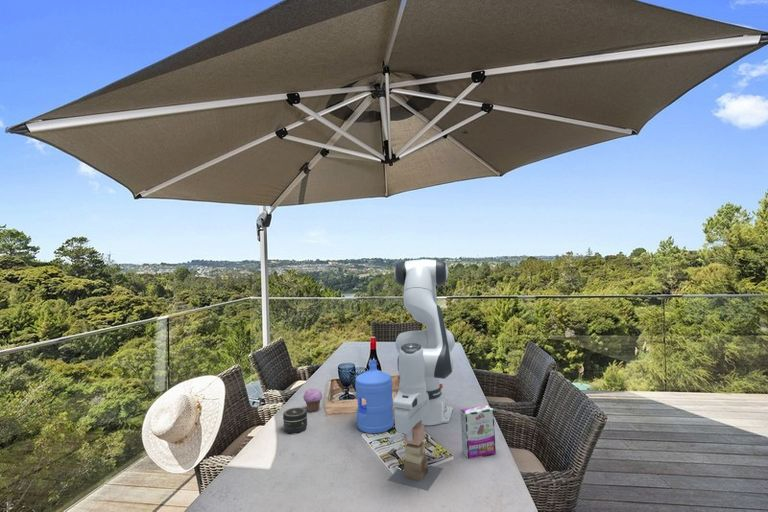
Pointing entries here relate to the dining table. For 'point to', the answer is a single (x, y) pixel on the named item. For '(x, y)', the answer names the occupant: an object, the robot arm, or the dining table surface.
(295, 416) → the jar
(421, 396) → the robot arm
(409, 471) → the tower base
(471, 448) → the candy bar box
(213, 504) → the dining table surface
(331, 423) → the dining table surface
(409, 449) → the tower mid
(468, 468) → the dining table surface
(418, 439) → the terracotta block
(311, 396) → the cupcake
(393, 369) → the dining table surface
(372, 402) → the water jug
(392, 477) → the mat
